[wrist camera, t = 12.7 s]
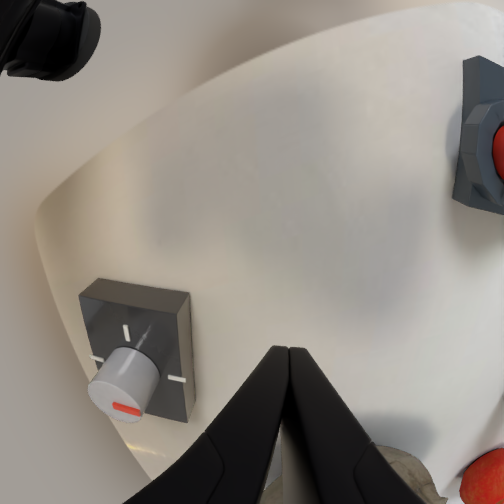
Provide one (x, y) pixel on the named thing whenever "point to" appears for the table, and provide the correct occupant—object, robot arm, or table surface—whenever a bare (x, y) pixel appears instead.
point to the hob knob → (124, 385)
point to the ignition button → (499, 152)
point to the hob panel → (145, 337)
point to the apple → (484, 480)
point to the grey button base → (480, 136)
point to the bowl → (401, 463)
